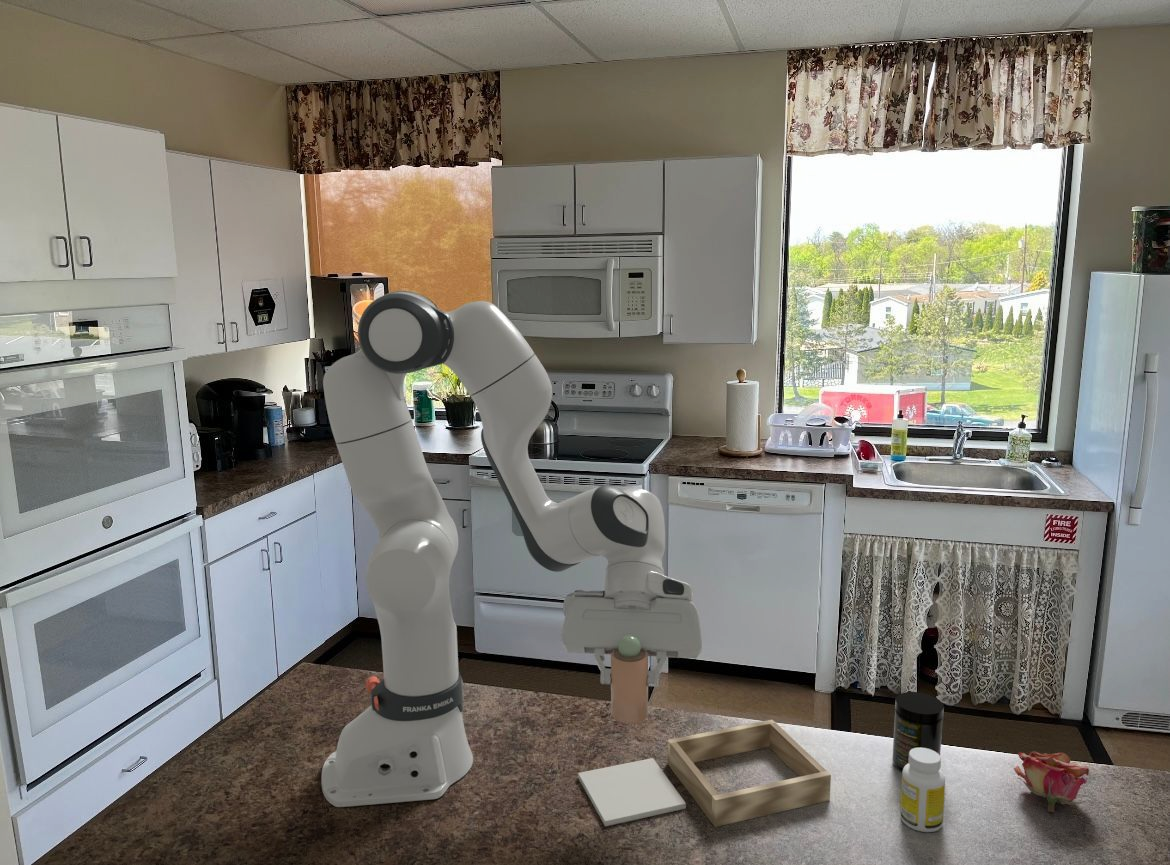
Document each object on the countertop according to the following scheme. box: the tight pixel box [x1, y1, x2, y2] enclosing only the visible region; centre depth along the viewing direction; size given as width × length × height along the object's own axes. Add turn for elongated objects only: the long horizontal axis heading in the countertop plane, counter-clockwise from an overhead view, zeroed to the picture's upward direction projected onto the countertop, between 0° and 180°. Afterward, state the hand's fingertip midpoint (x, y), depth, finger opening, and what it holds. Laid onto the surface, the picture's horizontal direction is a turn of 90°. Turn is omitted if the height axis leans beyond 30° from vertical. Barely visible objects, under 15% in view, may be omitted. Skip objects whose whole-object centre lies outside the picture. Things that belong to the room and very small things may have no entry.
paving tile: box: [577, 757, 687, 827], centre depth 123 cm, size 12×12×1 cm
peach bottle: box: [610, 635, 649, 725], centre depth 120 cm, size 5×5×12 cm
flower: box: [1013, 750, 1091, 814], centre depth 119 cm, size 10×9×8 cm
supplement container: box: [892, 691, 945, 773], centre depth 128 cm, size 7×7×10 cm
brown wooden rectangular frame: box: [667, 719, 832, 828], centre depth 125 cm, size 18×16×4 cm
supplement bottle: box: [899, 748, 946, 833], centre depth 115 cm, size 5×5×10 cm
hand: (629, 684), depth 119 cm, fingers closed on peach bottle, 5 cm apart
